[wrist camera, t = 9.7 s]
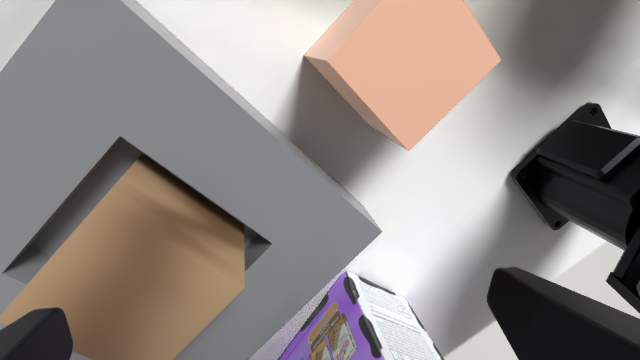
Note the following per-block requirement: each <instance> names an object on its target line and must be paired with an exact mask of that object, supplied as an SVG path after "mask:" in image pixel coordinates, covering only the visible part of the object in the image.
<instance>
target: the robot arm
mask: <svg viewBox="0 0 640 360" xmlns="http://www.w3.org/2000/svg"><path fill="white" fill-rule="evenodd" d="M521 173H522V174H521ZM520 174H521V176H520ZM512 179H513V181H514V182H515V183H516V185H517V186H518V187H519V189H520V190H521V191H522V193H523V194H524V195H525V197H526V198H527V199H528V201H529V202H530V203H531V205H532V206H533V207H534V209H535V210H536V211H537V213H538V214H539V215H540V217H541V218H542V219H543V221H544V222H545V223H546V225H547V226H548V227H550V228H551V229H553V230H558V229H560V228H561V227H562V226H563V225H564V224H566V223H567V222H568V221H569V220H570V221H572V222H573V223H575V224H577V225H579V226H581V227H583V228H584V229H586V230H588V231H590V232H592V233H594V234H595V235H597V236H599V237H601V238H603V239H604V240H606V241H608V242H610V243H612V244H614V245H615V246H617V247H619V248H621V249H623V250H625V251H624V253H623V255H622V256H621V258H620V260H619V262H618V264H617V266H616V268H615V269H614V271H613V272H610V274H609V276H608V278H607V280H606V282H607V283H608V284H609V285H610V286H611V287H612V288H613V289H615V290H616V291H617V292H618V293H619V294H620V295H621V296H622V297H623V298H624V299H625V300H626V301H627V302H628V303H629V304H630V305H631V306H633V307H634V308H635V309H636V310H637V311H638V312H639V313H640V136H638V135H634V134H630V133H626V132H622V131H617V130H613V129H611V127H610V125H609V123H608V121H607V119H606V117H605V115H604V113H603V111H602V109H601V107H600V105H599V104H596V103H591V102H589V103H586V104H585V105H584V106H583V107H582V108H581V109H579V110H578V111H577V112H576V113H575V114H574V115H573V116H572V117H571V118H570V119H569V120H567V121H566V122H565V123H564V124H563V125H562V126H561V127H560V128H559V129H558V130H557V131H555V132H554V133H553V134H552V135H551V136H550V137H549V138H548V139H547V140H546V141H545V142H543V143H542V144H541V145H540V146H539V147H538V148H537V149H536V150H535V151H534V152H533V153H532V154H530V155H529V156H528V157H527V158H526V159H525V160H524V161H523V162H522V163H521V164H520V165H518V166H517V167H516V168H515V169H514V170H513V172H512ZM487 303H488V306H489V308H490V309H491V311H492V313H493V315H494V317H495V318H496V320H497V322H498V324H499V325H500V327H501V329H502V330H503V333H504V334H505V336H506V338H507V340H508V341H509V343H510V345H511V347H512V349H513V350H514V352H515V354H516V356H517V358H518V359H519V360H640V319H639V318H636V317H634V316H631V315H629V314H627V313H624V312H622V311H619V310H617V309H615V308H612V307H610V306H607V305H605V304H603V303H600V302H598V301H596V300H593V299H591V298H589V297H586V296H584V295H581V294H579V293H577V292H574V291H572V290H569V289H567V288H565V287H562V286H560V285H557V284H555V283H553V282H550V281H548V280H546V279H543V278H541V277H539V276H536V275H534V274H531V273H529V272H527V271H524V270H522V269H519V268H517V267H513V266H508V267H499V268H496V269H495V271H494V272H493V275H492V279H491V282H490V286H489V289H488V293H487ZM72 351H73V338H72V335H71V332H70V328H69V325H68V322H67V318H66V315H65V313H64V311H63V310H62V309H61V308H59V307H52V308H41V309H35V310H32V311H30V312H29V313H27V314H25V315H24V316H22V317H21V318H19V319H17V320H16V321H14V322H13V323H11V324H9V325H8V326H6V327H5V328H3V329H1V330H0V360H70V357H71V354H72Z"/></svg>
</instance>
